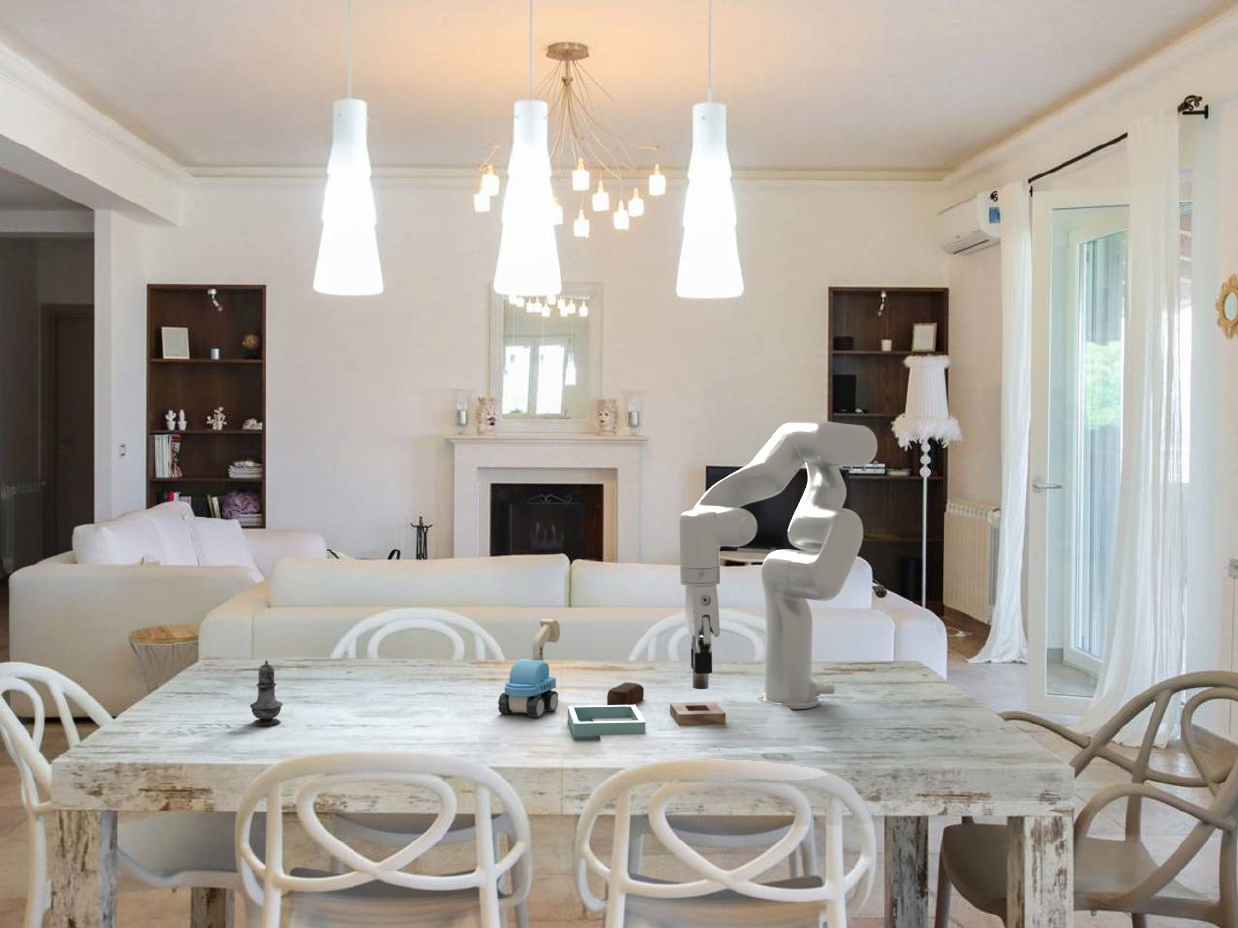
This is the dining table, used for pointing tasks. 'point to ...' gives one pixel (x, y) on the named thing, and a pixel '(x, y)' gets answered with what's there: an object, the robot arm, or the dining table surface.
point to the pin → (699, 679)
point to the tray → (589, 730)
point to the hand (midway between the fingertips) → (701, 670)
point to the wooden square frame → (697, 713)
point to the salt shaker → (266, 699)
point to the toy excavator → (532, 678)
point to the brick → (625, 694)
